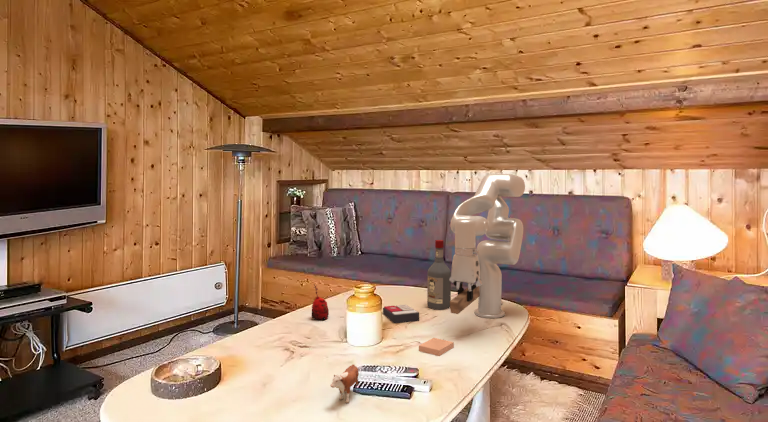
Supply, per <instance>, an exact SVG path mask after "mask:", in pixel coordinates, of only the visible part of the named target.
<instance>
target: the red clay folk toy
mask: <svg viewBox="0 0 768 422" xmlns="http://www.w3.org/2000/svg"><path fill="white" fill-rule="evenodd" d="M313 288H315V294H316V296H315V299H314V300H313V302H312V306H311V317H312V319H313V320H315V321H323V320H325V321H326V320H328V318H329V315H330V314H329V313H330V312H329V307H328V302H327V301H326V299H325V298H323V297H320V296H318V295H319V294H318V290H319V289H318V287H317V284H316V285H315V284H313Z"/></svg>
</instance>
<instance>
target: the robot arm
mask: <svg viewBox="0 0 768 422" xmlns="http://www.w3.org/2000/svg"><path fill="white" fill-rule="evenodd" d="M524 180H525V179H523V177H522V176H518V175H515V174H511V173H489V174H485V175H484V176H483V177H482V179H481V181H480V182H479V185H478V186H477V189H476V191H475V194H474V195H473V196H471V197H470V198H468V199H466V200H465V201H463V202H461V204H459V205H458V206H457V207H456V208H455V211H454V213H453V215H452V217H451V220H450V224H449V225H450V230H451V232H452V233H453V234H454V255H453V257H452V264H451V277H450V279H449V281H451V284H453V285H454V287H455V288H456V290H457V295H459V294H460V293H461V292H463V291H464V290H465V289H464V287H463V285H464V283H465V284H467V288H468V291H467V301H468V302H470V301H471V300H472V299H473V290H474V289H475V288H476V287H478V286H479V291H480V296H479V297H478V298H477V299H478V300H477V301H478V302H477V303H478V305H477V308H476V309H474V314H475V315H476V317H477V316H478V317H481V318H487V319H498V318H502V317H505V314H506V313H505V311H504V310H503V309H502V306H503V305H504V302H503V301H502V285H503V284H502V280H503V279H502V277H503V275H502V270H501V269H500V267H499V266H498V265H499V264H500V265H509V266H511V265H512V266H514V265H516V264H517V263H518V262H519V260H520V259H519V258H520V255H521V248H522V243H523V236H524V224H523V222H522V220H521V219H519V218H514V217H509V213H510V212H509V211H510V207H509V205H508V204H507V203H506V201H505V200H504V199H503V197H507V198H508V197H509V198H510V197H511V198H515V197H516V198H520V197H521V196H523V195H524V193H525V191H526V184H525V181H524ZM486 211H488V213H487V217H484V216H481V215H476V214H481V213H484V212H486ZM483 235H485V236H486V238H488V239H485V240H482V241H480V242H479V243H478V244H477V243H476V240H477V239H476V237H482V236H483ZM476 244H477V246H476Z"/></svg>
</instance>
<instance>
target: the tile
mask: <svg viewBox="0 0 768 422" xmlns="http://www.w3.org/2000/svg"><path fill="white" fill-rule="evenodd" d="M454 345H455V344H454V341H450V340H446V339H441V338H436V337H433V338H431V339H428V340H427V341H425V342H423V343H421V344H418V351H419V352H422V353H425V354H430V355H434V356H437V357H440V356H442V355H444V354H445V353H447V352H449V351H450V350H452V349H454Z"/></svg>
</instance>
